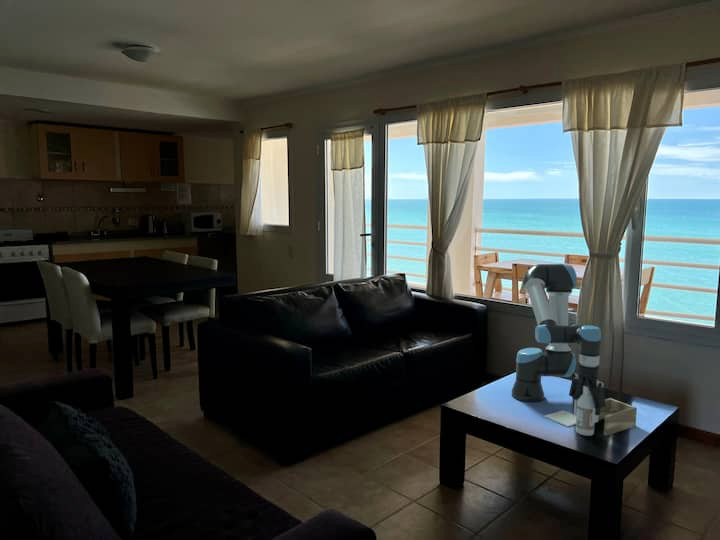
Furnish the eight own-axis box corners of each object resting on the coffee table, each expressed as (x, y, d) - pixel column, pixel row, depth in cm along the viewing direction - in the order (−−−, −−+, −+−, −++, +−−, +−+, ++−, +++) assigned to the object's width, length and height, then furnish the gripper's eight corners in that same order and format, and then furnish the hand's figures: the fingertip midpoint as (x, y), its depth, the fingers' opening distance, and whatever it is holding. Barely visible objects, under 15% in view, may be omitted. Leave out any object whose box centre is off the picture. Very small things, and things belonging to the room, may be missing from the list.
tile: (544, 416, 226) (544, 415, 226) (563, 411, 232) (563, 410, 232) (567, 427, 216) (567, 425, 216) (586, 421, 221) (586, 419, 221)
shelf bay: (580, 424, 218) (581, 406, 217) (609, 415, 228) (610, 398, 226) (606, 435, 208) (607, 417, 207) (635, 425, 217) (636, 407, 216)
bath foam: (587, 437, 206) (590, 389, 203) (572, 431, 212) (574, 384, 209) (597, 433, 210) (600, 386, 207) (582, 427, 215) (584, 381, 213)
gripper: (561, 359, 214) (558, 411, 217) (605, 373, 196) (602, 429, 199) (573, 356, 218) (570, 407, 221) (618, 370, 200) (614, 425, 203)
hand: (585, 418), depth 210 cm, fingers open, 8 cm apart
